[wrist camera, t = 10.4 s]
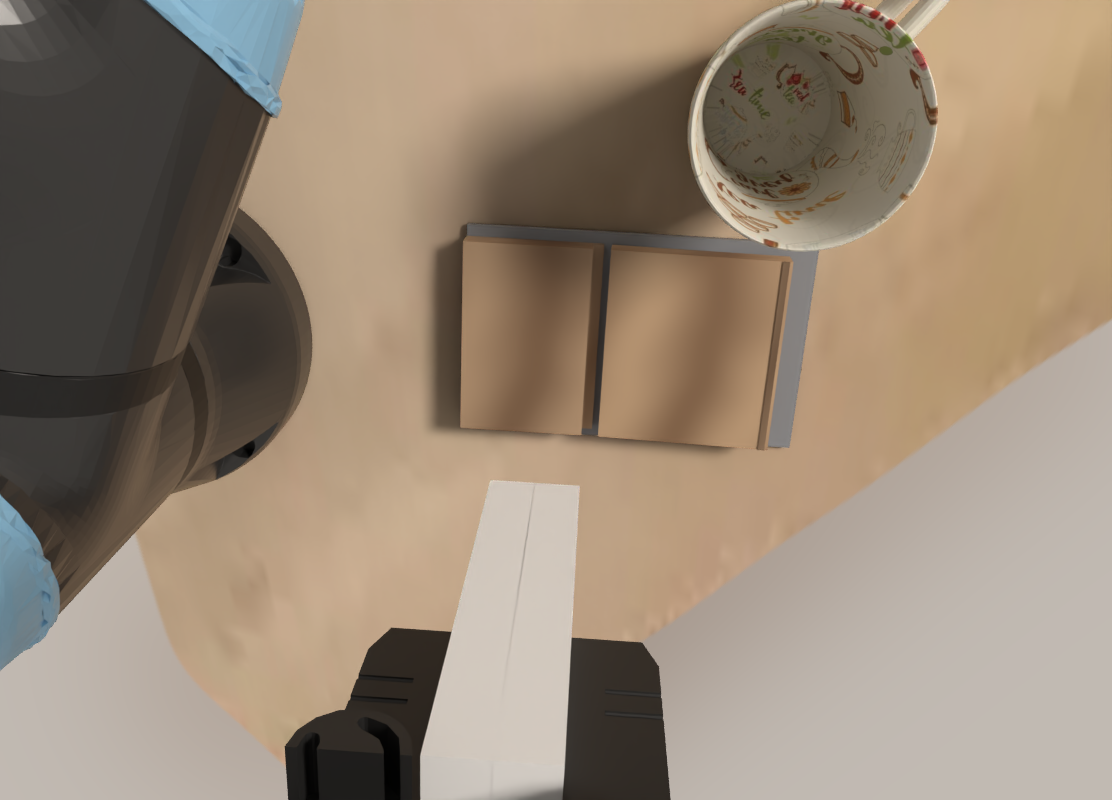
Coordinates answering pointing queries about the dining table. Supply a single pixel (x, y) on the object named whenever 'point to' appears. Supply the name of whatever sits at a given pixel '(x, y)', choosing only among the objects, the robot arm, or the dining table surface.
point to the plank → (693, 345)
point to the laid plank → (529, 334)
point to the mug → (815, 121)
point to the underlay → (801, 267)
